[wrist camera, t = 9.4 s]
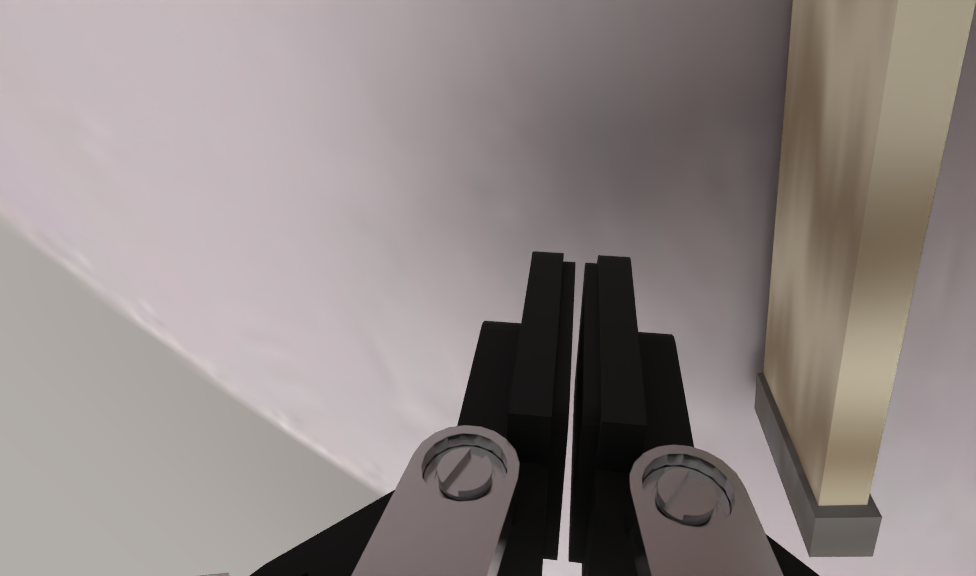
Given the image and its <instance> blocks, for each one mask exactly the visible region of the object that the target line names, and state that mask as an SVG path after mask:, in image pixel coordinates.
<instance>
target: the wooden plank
mask: <svg viewBox="0 0 976 576" xmlns="http://www.w3.org/2000/svg"><path fill="white" fill-rule="evenodd" d="M975 4H976V0H793V5H792V18H791V30H790V43H789V55H788V68H787V81H786V93H785V106H784V118H783V131H782V143H781V156H780V168H779V181H778V194H777V206H776V219H775V231H774V244H773V256H772V269H771V282H770V294H769V307H768V319H767V332H766V344H765V357H764V370H763V373H757V381H756V395H755V410H756V413H757V416H758V419H759V421H760V424H761V427H762V429H763V432H764V435H765V438H766V440H767V443H768V446H769V448H770V451H771V454H772V457H773V459H774V462H775V465H776V467H777V470H778V473H779V476H780V478H781V481H782V484H783V486H784V489H785V492H786V495H787V497H788V500H789V503H790V505H791V508H792V511H793V514H794V516H795V519H796V522H797V524H798V527H799V530H800V533H801V535H802V538H803V541H804V543H805V546H806V549H807V552H808V554H809V557H863V556H873V553H874V549H875V544H876V540H877V536H878V532H879V528H880V523H881V519H882V516H881V514H880V512H879V510H878V508H877V507H876V505H875V503H874V501H873V499H872V497H871V495H870V490H871V485H872V480H873V476H874V471H875V467H876V462H877V457H878V453H879V448H880V443H881V439H882V434H883V430H884V425H885V420H886V416H887V411H888V406H889V402H890V397H891V393H892V388H893V383H894V379H895V374H896V369H897V365H898V360H899V355H900V351H901V346H902V342H903V337H904V332H905V328H906V323H907V318H908V314H909V309H910V305H911V300H912V295H913V291H914V286H915V281H916V277H917V272H918V268H919V263H920V258H921V254H922V249H923V244H924V240H925V235H926V230H927V226H928V221H929V217H930V212H931V207H932V203H933V198H934V193H935V189H936V184H937V180H938V175H939V170H940V166H941V161H942V156H943V152H944V147H945V142H946V138H947V133H948V129H949V124H950V119H951V115H952V110H953V105H954V101H955V96H956V92H957V87H958V82H959V78H960V73H961V68H962V64H963V59H964V55H965V50H966V45H967V41H968V36H969V31H970V27H971V22H972V17H973V13H974V8H975Z"/></svg>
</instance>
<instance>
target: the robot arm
mask: <svg viewBox="0 0 976 576" xmlns="http://www.w3.org/2000/svg"><path fill="white" fill-rule="evenodd" d="M563 256H564V253H550V252H533V253H532V259H531V266H530V272H529V279H528V285H527V291H526V298H525V304H524V310H523V317H522V323H508V322H494V321H484V322H483V324H482V327H481V331H480V335H479V339H478V343H477V348H476V352H475V356H474V360H473V364H472V368H471V372H470V376H469V380H468V384H467V388H466V393H465V397H464V401H463V405H462V409H461V413H460V417H459V421H458V425H457V426H456V427H449V428H446V429H444V430H441V431H439V432H436V433H434V434H433V435H431V436H430V437H429V438H427V439H426V440H425V441H423V442H422V443H421V444H420V446H419V447H418V448H417V450H416V451H415V452H414V454H413V456H412V458H411V460H410V462H409V464H408V466H407V468H406V470H405V471H404V473H403V475H402V477H401V479H400V481H399V483H398V485H397V487H396V489H395V490H394V491H392V492H390V493H388V494H387V495H385V496H383V497H381V498H380V499H379V500H376V501H375V502H373V503H372V504H369V505H368V506H366V507H364V508H362V509H361V510H359V511H357V512H355V513H354V514H352V515H350V516H348V517H347V518H345V519H343V520H341V521H340V522H338V523H336V524H335V525H333V526H331V527H329V528H328V529H326V530H324V531H322V532H320V533H319V534H317V535H315V536H314V537H312V538H310V539H308V540H307V541H305V542H303V543H301V544H300V545H298V546H296V547H294V548H293V549H291V550H289V551H288V552H286V553H284V554H282V555H280V556H279V557H277V558H275V559H273V560H272V561H270V562H268V563H266V564H265V565H264V566H262V567H261V568H259V569H258V570H257V571H255V572H254V573H253V574H251V575H250V576H542V565H543V559H551V560H557V556H558V544H559V532H560V520H561V508H562V495H563V483H564V471H565V459H566V447H567V434H568V420H569V402H570V379H571V355H572V332H573V308H574V285H575V262H564V261H563ZM569 562H577V563H582V576H819V575H818V574H817V573H815V572H814V571H813V570H812V569H810V568H809V567H808V566H806V565H805V564H804V563H802V562H801V561H800V560H799V559H797V558H796V557H795V556H793V555H792V554H791V553H789V552H788V551H787V550H786V549H784V548H783V547H782V546H780V545H779V544H778V543H777V542H775V541H774V540H773V539H771V538H770V537H769V536H767V535H766V534H765V532H764V530H763V527H762V525H761V523H760V521H759V518H758V516H757V514H756V511H755V509H754V507H753V504H752V502H751V500H750V498H749V495H748V493H747V491H746V488H745V486H744V485H743V483H742V482H741V480H740V478H739V477H738V475H737V474H736V472H734V471H733V470H732V469H731V468H730V467H729V466H728V465H727V464H726V463H725V462H724V461H722V460H721V459H719V458H717V457H715V456H714V455H712V454H710V453H708V452H706V451H703V450H700V449H697V448H694V444H693V439H692V433H691V428H690V422H689V416H688V411H687V405H686V399H685V394H684V388H683V383H682V377H681V371H680V366H679V360H678V355H677V349H676V343H675V339H674V336H673V335H672V334H659V333H645V332H638V327H637V317H636V307H635V297H634V287H633V277H632V267H631V259H630V257H618V256H601V255H598V260H597V263H585V271H584V283H583V294H582V306H581V318H580V329H579V341H578V353H577V364H576V376H575V390H574V414H573V443H572V472H571V501H570V530H569ZM202 576H230V575H229V573H221V574H211V575H202Z"/></svg>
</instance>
